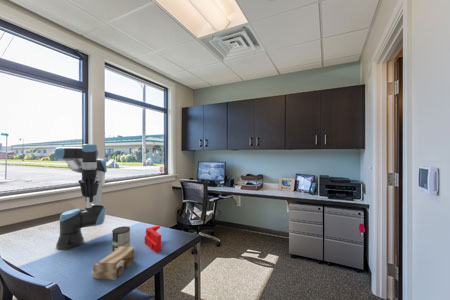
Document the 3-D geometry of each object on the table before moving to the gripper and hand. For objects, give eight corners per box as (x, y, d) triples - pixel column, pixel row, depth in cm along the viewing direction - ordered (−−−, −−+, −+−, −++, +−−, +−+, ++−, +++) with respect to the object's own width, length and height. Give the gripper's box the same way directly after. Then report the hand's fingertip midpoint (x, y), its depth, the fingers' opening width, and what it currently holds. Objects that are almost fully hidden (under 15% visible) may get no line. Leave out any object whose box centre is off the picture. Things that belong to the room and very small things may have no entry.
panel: (92, 276, 103) (92, 269, 103) (107, 263, 115) (108, 257, 115) (113, 277, 102) (113, 270, 102) (127, 264, 114) (127, 258, 114)
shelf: (93, 278, 101) (93, 262, 101) (115, 259, 118) (115, 246, 118) (115, 279, 99) (115, 263, 99) (134, 261, 116) (134, 247, 116)
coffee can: (109, 255, 123) (109, 232, 123) (116, 247, 133) (116, 226, 133) (126, 254, 124) (126, 232, 124) (132, 246, 134) (132, 226, 134)
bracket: (144, 228, 139) (158, 225, 146) (144, 243, 139) (158, 239, 146) (155, 236, 126) (170, 232, 133) (155, 253, 126) (169, 247, 133)
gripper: (74, 169, 118) (74, 208, 118) (94, 169, 117) (94, 209, 117) (84, 168, 126) (84, 205, 125) (103, 168, 124) (103, 206, 124)
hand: (89, 207), depth 121 cm, fingers closed
